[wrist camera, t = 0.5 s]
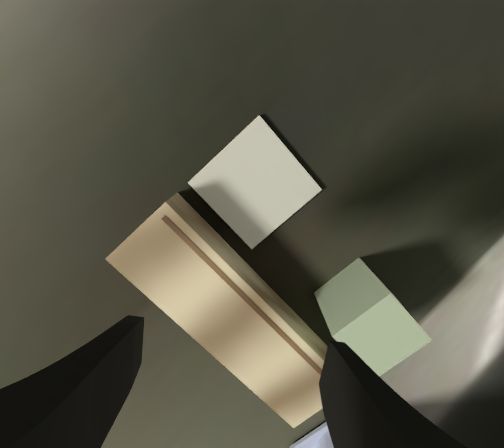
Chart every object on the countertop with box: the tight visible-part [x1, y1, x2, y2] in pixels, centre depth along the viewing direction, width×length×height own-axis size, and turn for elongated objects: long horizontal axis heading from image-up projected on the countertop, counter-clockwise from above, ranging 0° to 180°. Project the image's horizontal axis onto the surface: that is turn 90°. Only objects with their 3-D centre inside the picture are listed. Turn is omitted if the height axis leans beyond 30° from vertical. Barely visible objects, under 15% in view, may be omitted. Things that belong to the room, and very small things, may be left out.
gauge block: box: [314, 258, 432, 376], centre depth 20 cm, size 4×4×5 cm
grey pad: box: [188, 115, 322, 249], centre depth 19 cm, size 6×6×1 cm
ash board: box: [106, 193, 328, 428], centre depth 20 cm, size 17×5×3 cm, turn 42°
